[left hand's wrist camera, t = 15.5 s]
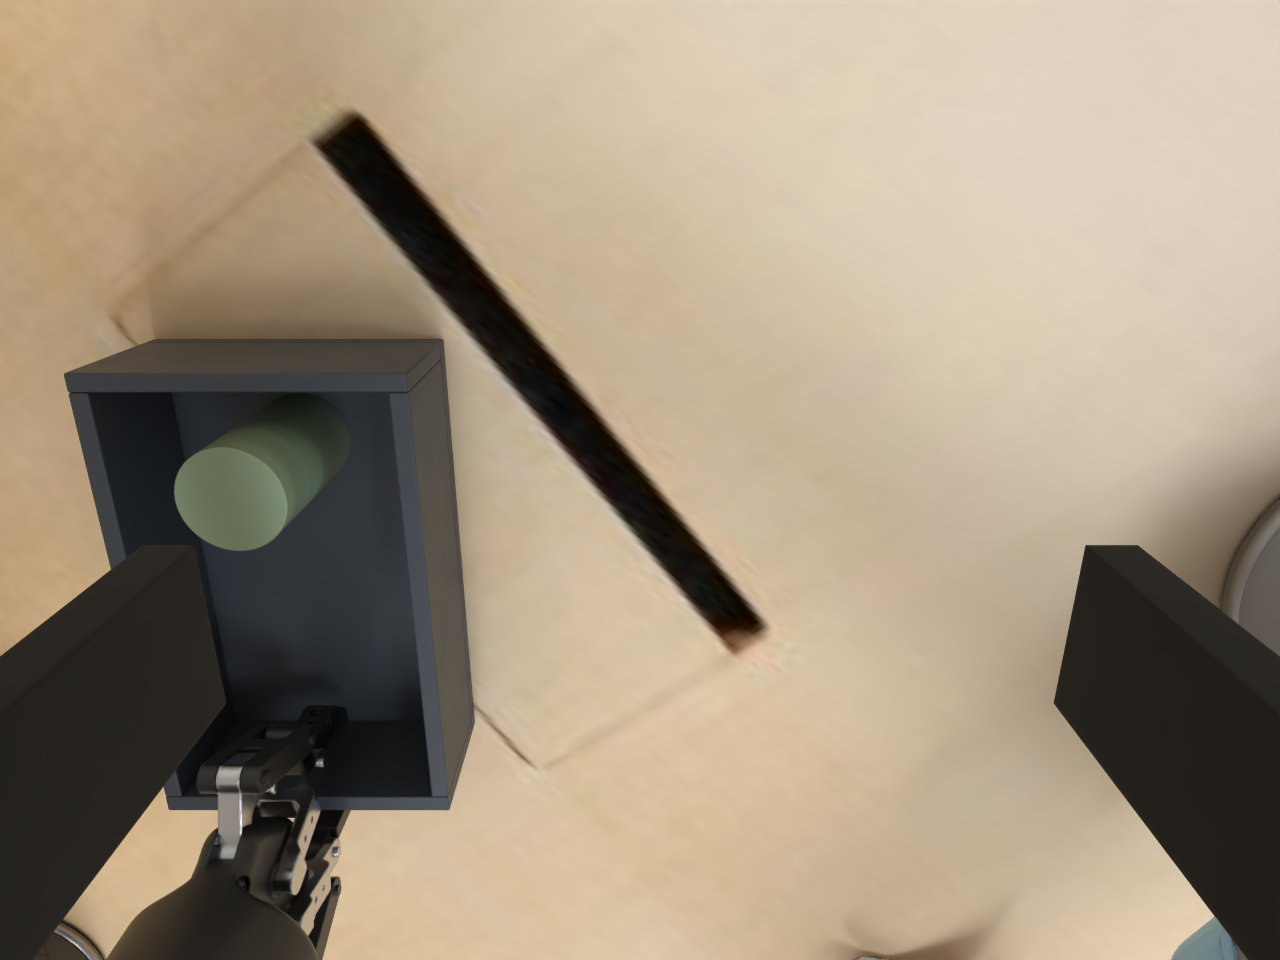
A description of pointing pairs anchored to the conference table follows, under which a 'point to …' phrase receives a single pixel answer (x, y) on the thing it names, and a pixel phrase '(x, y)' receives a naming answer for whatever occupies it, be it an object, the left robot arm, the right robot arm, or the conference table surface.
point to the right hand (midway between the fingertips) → (333, 749)
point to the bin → (307, 552)
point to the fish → (870, 958)
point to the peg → (262, 472)
